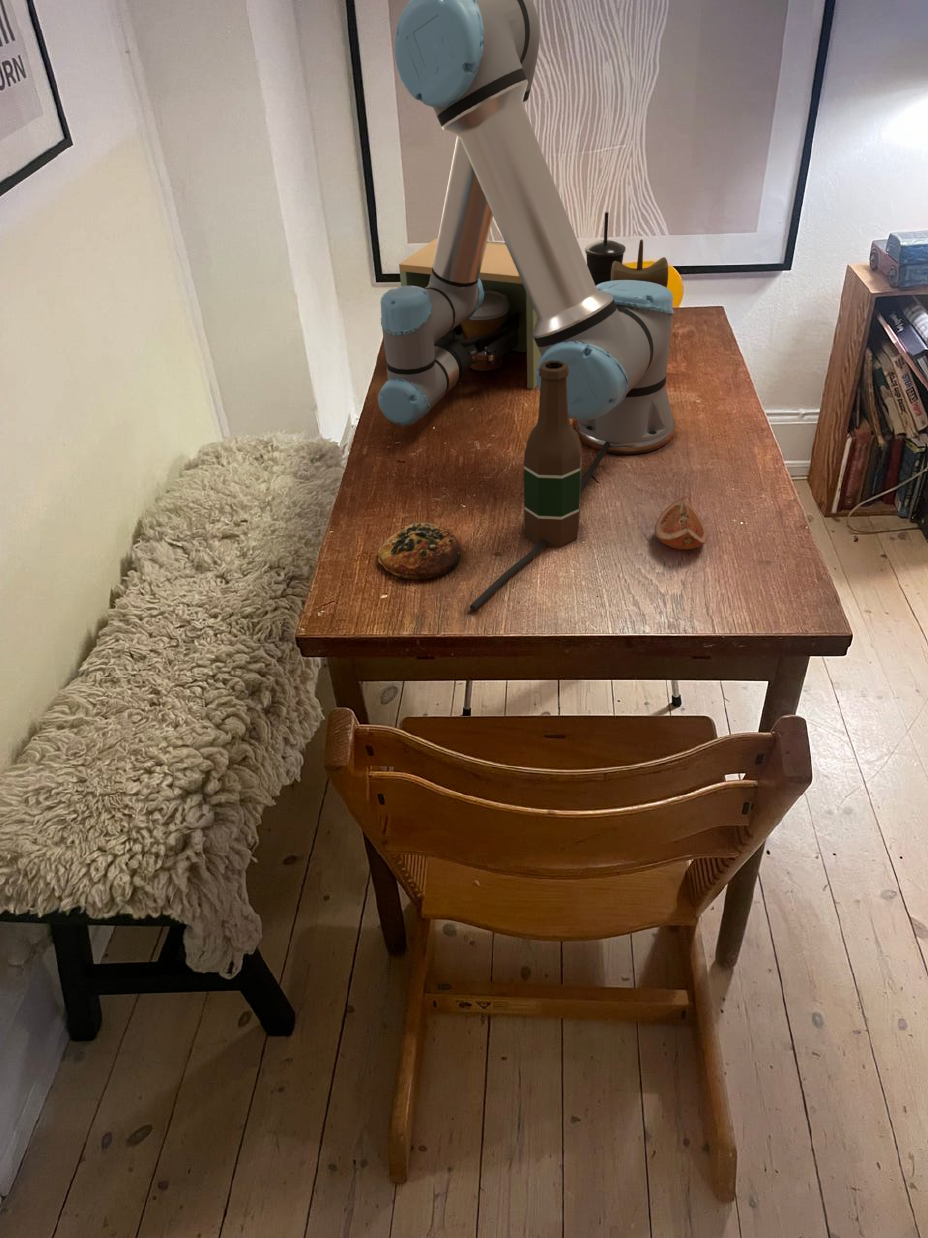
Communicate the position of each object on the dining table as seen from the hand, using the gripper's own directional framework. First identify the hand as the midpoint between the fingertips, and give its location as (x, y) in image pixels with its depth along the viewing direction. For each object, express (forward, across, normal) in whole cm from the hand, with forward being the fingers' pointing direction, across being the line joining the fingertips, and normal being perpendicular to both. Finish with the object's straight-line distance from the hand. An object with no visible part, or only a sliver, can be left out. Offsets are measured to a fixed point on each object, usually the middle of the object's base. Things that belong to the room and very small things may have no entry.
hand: (494, 317), depth 166 cm
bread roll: (-64, +16, -7) cm, 66 cm away
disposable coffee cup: (-5, 0, -7) cm, 9 cm away
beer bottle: (-52, +31, -7) cm, 61 cm away
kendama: (+9, +24, -7) cm, 27 cm away
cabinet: (-5, 0, -7) cm, 8 cm away
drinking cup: (+22, +14, -7) cm, 27 cm away
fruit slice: (-49, +47, -7) cm, 69 cm away
